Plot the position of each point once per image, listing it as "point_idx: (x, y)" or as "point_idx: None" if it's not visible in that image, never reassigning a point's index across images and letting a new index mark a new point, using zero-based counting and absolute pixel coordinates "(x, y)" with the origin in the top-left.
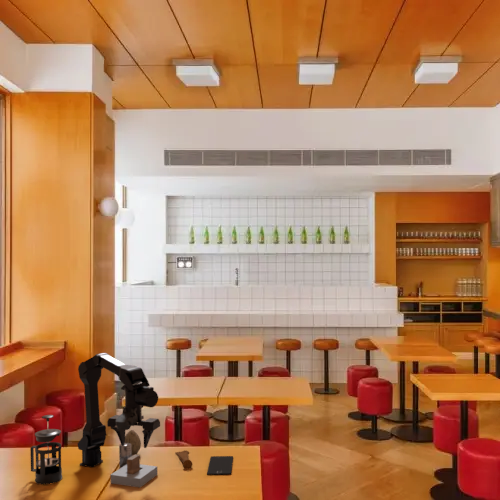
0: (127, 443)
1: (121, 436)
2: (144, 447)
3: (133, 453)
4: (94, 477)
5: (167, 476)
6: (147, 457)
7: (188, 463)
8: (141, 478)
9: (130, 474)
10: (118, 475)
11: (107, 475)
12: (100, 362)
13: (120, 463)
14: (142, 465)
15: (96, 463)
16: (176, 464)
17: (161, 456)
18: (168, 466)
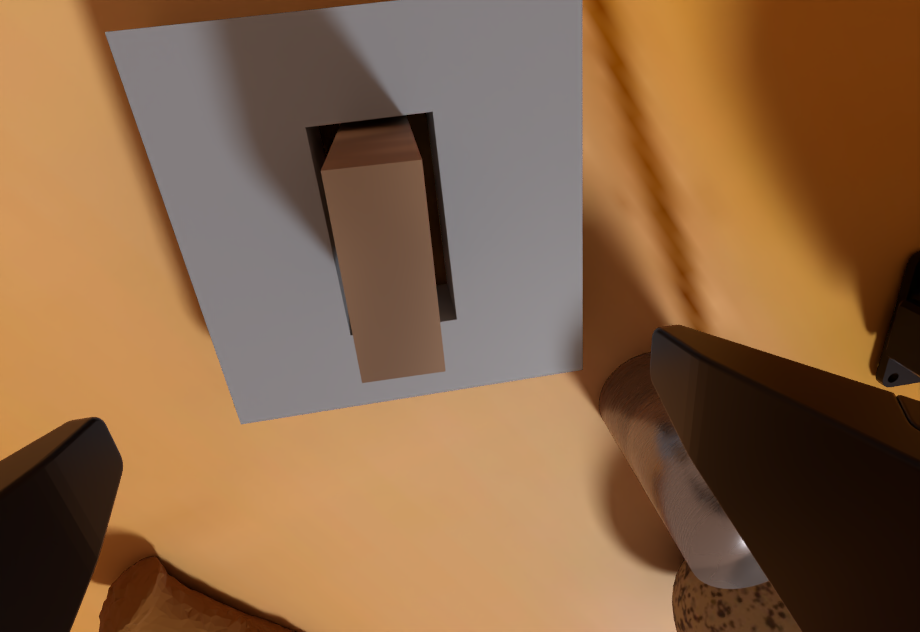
0: (752, 575)
1: (813, 444)
2: (78, 424)
3: None
4: (801, 54)
5: (142, 386)
6: (575, 570)
7: (109, 607)
8: (123, 70)
9: (342, 106)
10: (465, 5)
11: (695, 158)
12: None
13: None
14: (403, 377)
15: (912, 299)
16: (279, 579)
17: (489, 620)
18: (307, 530)
